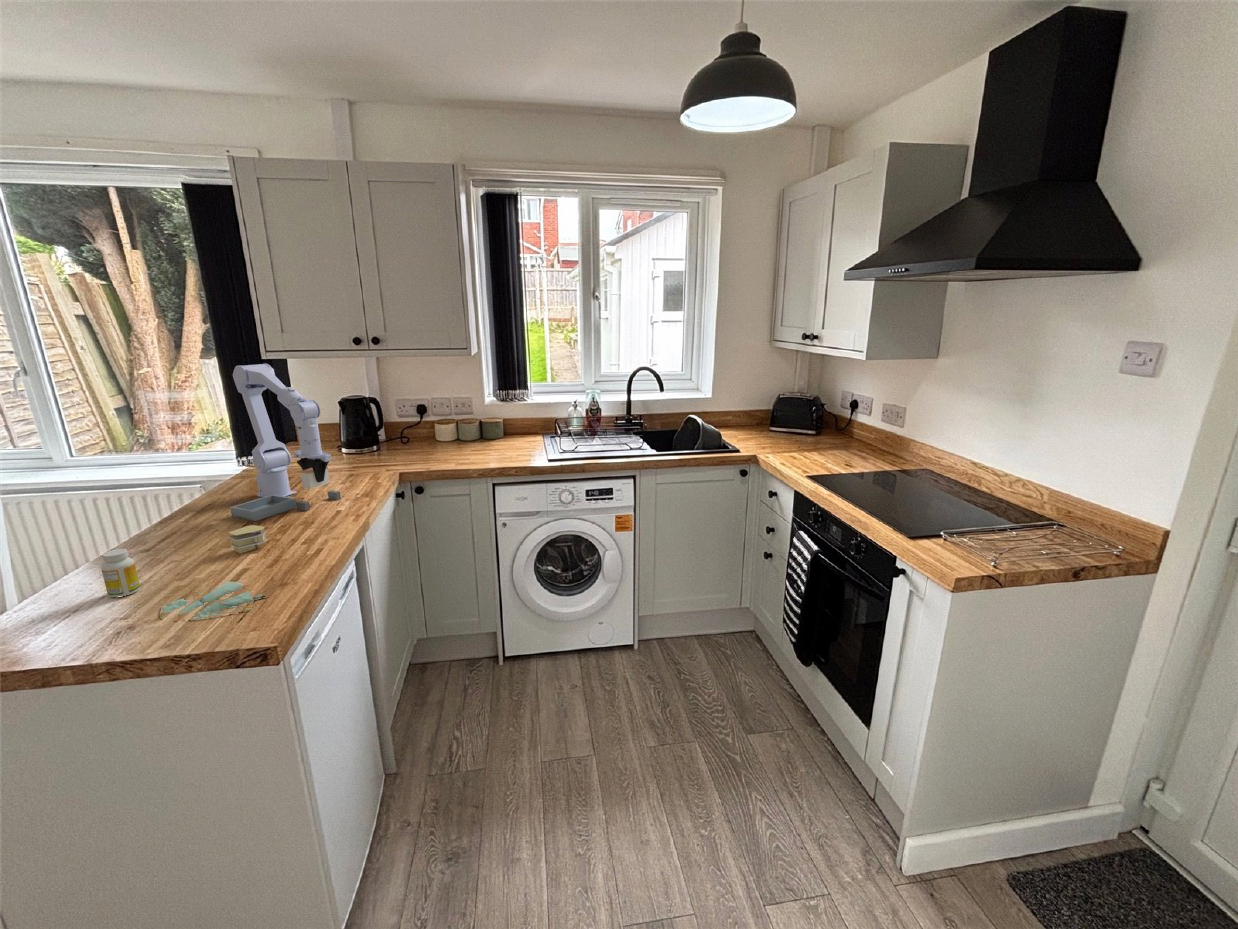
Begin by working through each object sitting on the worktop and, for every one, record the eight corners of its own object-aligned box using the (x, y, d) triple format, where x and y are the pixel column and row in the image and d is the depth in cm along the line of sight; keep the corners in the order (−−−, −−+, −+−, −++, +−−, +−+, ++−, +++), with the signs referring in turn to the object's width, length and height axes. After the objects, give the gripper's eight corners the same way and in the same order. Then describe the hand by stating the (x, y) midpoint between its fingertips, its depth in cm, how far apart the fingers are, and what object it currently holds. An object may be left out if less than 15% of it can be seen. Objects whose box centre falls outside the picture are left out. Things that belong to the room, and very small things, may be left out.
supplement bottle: (110, 601, 116) (99, 559, 113) (106, 593, 119) (95, 553, 117) (143, 592, 120) (133, 551, 117) (138, 584, 123) (128, 545, 121)
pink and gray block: (303, 487, 173) (300, 470, 171) (322, 481, 179) (319, 465, 178) (310, 488, 171) (308, 472, 170) (329, 482, 178) (327, 466, 176)
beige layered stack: (238, 560, 136) (234, 539, 135) (221, 552, 141) (217, 532, 139) (280, 546, 144) (276, 527, 143) (262, 539, 149) (259, 520, 148)
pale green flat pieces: (142, 613, 112) (140, 602, 112) (256, 572, 130) (254, 563, 130) (186, 643, 102) (183, 631, 101) (303, 594, 120) (301, 584, 119)
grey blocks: (296, 509, 172) (295, 501, 171) (332, 497, 183) (331, 490, 183) (305, 510, 170) (304, 503, 170) (340, 498, 182) (339, 491, 181)
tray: (231, 516, 166) (230, 507, 165) (274, 503, 178) (273, 494, 177) (255, 521, 162) (253, 511, 161) (297, 507, 174) (295, 498, 173)
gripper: (282, 440, 170) (288, 481, 174) (314, 444, 165) (321, 486, 168) (302, 435, 177) (308, 475, 180) (334, 439, 171) (340, 480, 175)
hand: (316, 480), depth 175 cm, fingers closed on pink and gray block, 3 cm apart
